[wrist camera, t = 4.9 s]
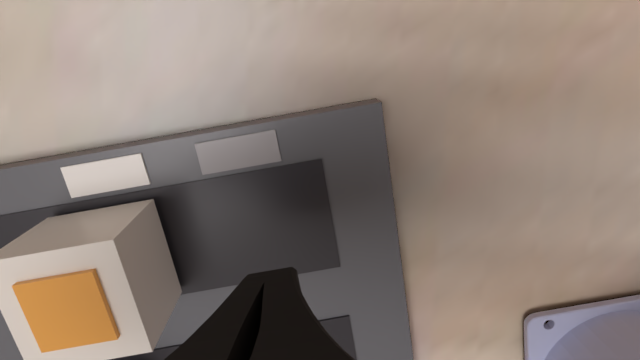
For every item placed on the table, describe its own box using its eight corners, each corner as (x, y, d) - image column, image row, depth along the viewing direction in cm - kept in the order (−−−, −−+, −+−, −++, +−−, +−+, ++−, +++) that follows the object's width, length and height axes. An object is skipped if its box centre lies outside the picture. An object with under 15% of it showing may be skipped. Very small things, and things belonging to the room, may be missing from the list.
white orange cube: (153, 198, 15) (110, 242, 12) (182, 291, 17) (150, 356, 13) (47, 217, 15) (-27, 266, 12) (83, 308, 17) (26, 377, 13)
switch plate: (375, 98, 16) (381, 102, 15) (413, 398, 21) (421, 420, 20) (-74, 178, 16) (-105, 188, 15) (60, 459, 21) (45, 485, 20)
